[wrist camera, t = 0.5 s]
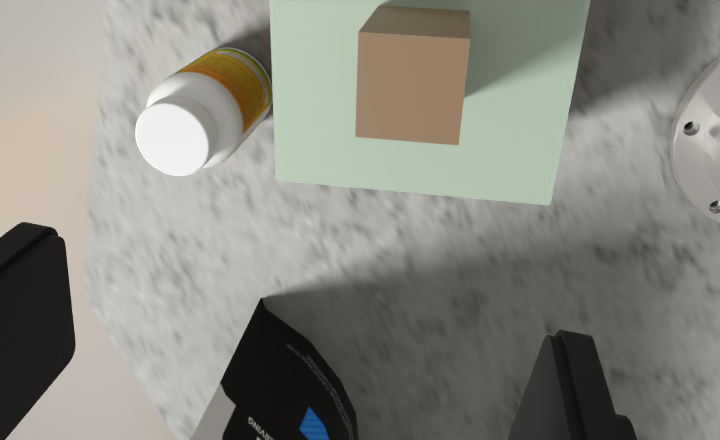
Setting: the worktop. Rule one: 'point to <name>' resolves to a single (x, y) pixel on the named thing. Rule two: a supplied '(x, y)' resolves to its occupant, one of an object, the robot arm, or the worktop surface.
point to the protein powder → (277, 390)
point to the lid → (425, 94)
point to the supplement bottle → (204, 112)
